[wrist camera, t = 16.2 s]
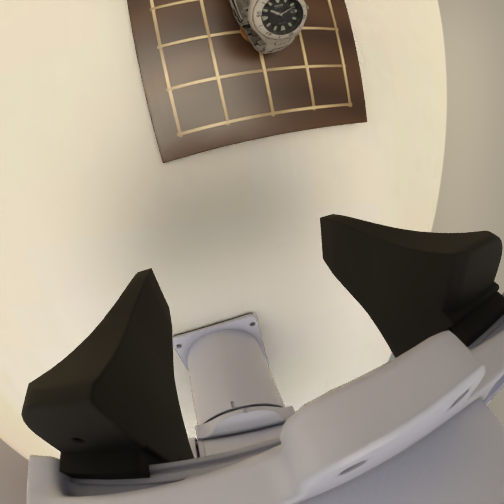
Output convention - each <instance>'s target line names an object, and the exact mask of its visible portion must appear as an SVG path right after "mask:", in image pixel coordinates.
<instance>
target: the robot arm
mask: <svg viewBox="0 0 504 504" xmlns="http://www.w3.org/2000/svg"><path fill="white" fill-rule="evenodd" d="M320 224H321V236H322V251H323V259H324V261H325V262H326V264H327V266H328V267H329V269H330V270H331V271H332V273H333V274H334V276H335V277H336V278H337V279H338V280H339V281H340V282H341V284H342V285H343V286H344V287H345V288H346V289H347V290H348V291H349V292H350V293H351V295H352V296H353V297H354V298H355V299H356V300H357V301H358V302H359V303H360V305H361V306H362V307H363V308H364V309H365V310H366V312H367V313H368V314H369V316H370V317H371V319H372V320H373V322H374V323H375V325H376V326H377V328H378V329H379V331H380V332H381V334H382V335H383V337H384V339H385V340H386V342H387V344H388V345H389V347H390V349H391V351H392V353H393V355H394V356H395V358H394V359H393V360H391V361H389V362H387V363H385V364H383V365H382V366H380V367H378V368H376V369H374V370H372V371H370V372H368V373H366V374H364V375H362V376H360V377H358V378H356V379H354V380H352V381H350V382H348V383H346V384H343V385H341V386H339V387H337V388H335V389H332V390H330V391H328V392H326V393H325V394H323V395H321V396H319V397H317V398H316V399H314V400H312V401H310V402H308V403H306V404H304V405H303V406H302V407H301V408H300V409H299V410H297V411H296V412H295V411H294V409H293V406H289V407H285V405H284V403H283V400H282V398H281V396H280V393H279V391H278V389H277V386H276V384H275V382H274V379H273V377H272V374H271V372H270V369H269V365H268V361H267V357H266V353H265V350H264V346H263V342H262V338H261V334H260V330H259V326H258V322H257V318H256V316H255V315H254V314H248V315H244V316H241V317H238V318H235V319H232V320H229V321H225V322H222V323H219V324H215V325H212V326H209V327H205V328H202V329H199V330H195V331H192V332H188V333H185V334H181V335H177V336H174V337H173V338H172V323H171V317H170V310H169V306H168V304H167V302H166V300H165V298H164V295H163V293H162V291H161V289H160V286H159V284H158V282H157V280H156V277H155V275H154V273H153V271H152V268H150V269H147V270H144V271H141V272H138V273H137V274H136V275H135V276H134V278H133V279H132V280H131V282H130V283H129V285H128V286H127V287H126V289H125V290H124V292H123V293H122V295H121V296H120V298H119V299H118V300H117V302H116V303H115V304H114V306H113V307H112V308H111V310H110V311H109V312H108V314H107V315H106V316H105V318H104V319H103V320H102V321H101V323H100V324H99V325H98V326H97V327H96V328H95V330H94V331H93V332H92V333H91V334H90V335H89V336H88V337H87V338H86V339H85V340H84V341H83V342H82V343H81V344H80V345H79V346H78V347H77V348H76V349H75V350H74V351H73V352H71V353H70V354H69V355H68V356H67V357H66V358H64V359H63V360H62V361H61V362H59V363H58V364H57V365H56V366H54V367H53V368H52V369H50V370H49V371H47V372H46V373H44V374H43V375H41V376H40V377H38V378H37V379H35V380H34V381H32V382H31V383H29V385H28V389H27V393H26V397H25V401H24V405H23V409H22V414H21V415H22V418H23V420H24V422H25V423H26V425H27V426H28V427H29V428H30V429H31V430H32V431H33V432H34V433H35V434H37V435H38V436H39V437H41V438H42V439H43V440H45V441H46V442H47V443H49V444H50V445H52V446H53V447H55V448H56V449H58V450H59V451H61V455H60V459H58V458H55V457H50V456H38V455H30V458H29V468H28V469H29V470H28V483H27V504H504V426H503V425H502V424H501V422H500V421H499V420H498V418H497V417H496V416H495V415H494V413H493V412H492V411H491V410H490V408H489V407H488V406H487V404H488V403H489V402H490V401H491V400H492V399H493V398H494V397H495V396H496V395H497V394H498V392H499V391H500V390H501V389H502V388H503V387H504V293H503V295H501V294H500V293H499V292H497V291H498V289H499V285H498V284H496V283H495V282H494V279H495V276H496V273H497V270H498V266H499V263H500V260H501V255H502V242H501V240H500V238H499V237H497V236H496V235H495V234H493V233H491V232H489V231H479V232H468V233H430V232H419V231H411V230H404V229H398V228H393V227H389V226H384V225H379V224H375V223H371V222H367V221H363V220H359V219H355V218H351V217H347V216H342V215H335V214H332V215H328V216H325V217H321V218H320ZM251 322H253V323H251ZM250 323H251V324H250ZM177 344H181V345H177ZM173 346H174V348H175V350H176V351H177V353H178V355H179V357H180V358H181V360H182V362H183V363H184V365H185V367H186V368H187V370H188V372H189V377H190V384H191V390H192V396H193V402H194V408H195V414H196V419H197V424H198V425H196V426H195V429H196V434H197V439H198V441H197V439H196V438H189V439H188V437H187V433H186V429H185V426H184V422H183V418H182V414H181V410H180V405H179V401H178V396H177V391H176V385H175V379H174V366H173Z"/></svg>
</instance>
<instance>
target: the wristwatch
mask: <svg viewBox="0 0 504 504" xmlns="http://www.w3.org/2000/svg"><path fill="white" fill-rule="evenodd" d="M229 2H230V6H231V7H232V9H233V13H234V14H233V15H234V18H235V19H236V21H237V22H238V24H239V25H240V26H241V27H242V29H243V30H244V32H245V34H246V35H247V38H248V40H249V41H250V42H251V44H252V46H253V47H254V49H255V50H256V51H258V52H260V53H263V54H267V53H274V52H277V51H280V50H282V49H284V48H286V47H287V46H289V45H290V44H291V43H292V42H293V40H294V39H295V36H297V35H298V34H299V33H300V31H301V30H302V28H303V26H304V23H305V20H306V17H307V10H308V9H309V7H308V6H307V5H306V3H305V1H304V0H229Z"/></svg>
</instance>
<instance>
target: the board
mask: <svg viewBox="0 0 504 504" xmlns="http://www.w3.org/2000/svg"><path fill="white" fill-rule="evenodd" d="M304 1H305V3H306V5H307V6H308V7H309V9H308V10H307V17H306V20H305V23H304V26H303V28H302V30H301V31H300V33H299V34H298V35H297V36H295V39H294V40H293V42H292V43H291V44H290V45H289V46H287V47H286V48H284V49H282V50H280V51H277V52H274V53H267V54H263V53H260V52H258V51H256V50H255V49H254V47H253V46H252V44H251V42H250V41H249V40H248V38H247V35H246V34H245V32H244V30H243V29H242V27H241V26H240V25H239V24H238V22H237V21H236V19H235V18H234V15H233V14H234V13H233V9H232V7H231V6H230V2H229V0H127V3H128V9H129V15H130V21H131V27H132V33H133V38H134V43H135V49H136V54H137V59H138V63H139V68H140V73H141V78H142V82H143V87H144V91H145V95H146V100H147V104H148V108H149V112H150V116H151V120H152V124H153V128H154V132H155V136H156V139H157V143H158V147H159V151H160V154H161V158H162V162H163V163H166V162H169V161H172V160H176V159H179V158H182V157H186V156H189V155H193V154H196V153H200V152H204V151H208V150H211V149H215V148H219V147H223V146H227V145H231V144H236V143H240V142H244V141H249V140H254V139H258V138H263V137H268V136H273V135H278V134H284V133H289V132H295V131H301V130H307V129H314V128H321V127H328V126H336V125H344V124H353V123H363V122H367V116H366V108H365V100H364V92H363V86H362V79H361V73H360V67H359V62H358V56H357V51H356V46H355V41H354V37H353V32H352V28H351V24H350V20H349V16H348V12H347V8H346V5H345V1H344V0H304Z"/></svg>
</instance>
